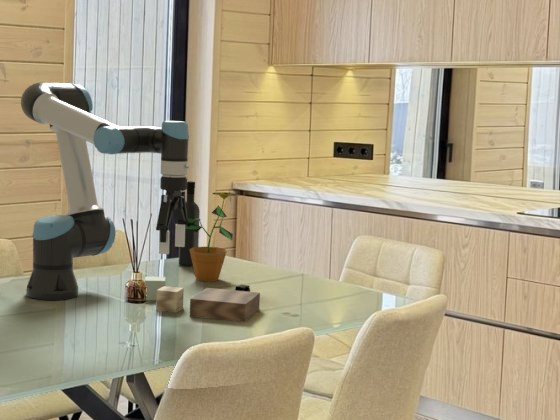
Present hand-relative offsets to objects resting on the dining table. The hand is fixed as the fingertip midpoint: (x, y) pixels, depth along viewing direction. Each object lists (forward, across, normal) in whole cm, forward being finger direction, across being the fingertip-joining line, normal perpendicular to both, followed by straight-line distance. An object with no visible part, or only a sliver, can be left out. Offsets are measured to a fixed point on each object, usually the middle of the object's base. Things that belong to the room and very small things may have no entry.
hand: (172, 250), depth 274 cm
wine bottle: (+17, +68, +17) cm, 72 cm away
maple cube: (+17, 0, 0) cm, 17 cm away
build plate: (+18, +22, -15) cm, 32 cm away
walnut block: (+17, +2, -16) cm, 23 cm away
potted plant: (+17, +46, +3) cm, 49 cm away
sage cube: (+17, +12, +9) cm, 23 cm away
